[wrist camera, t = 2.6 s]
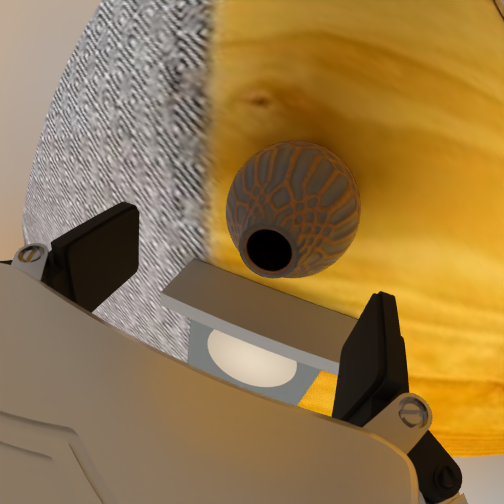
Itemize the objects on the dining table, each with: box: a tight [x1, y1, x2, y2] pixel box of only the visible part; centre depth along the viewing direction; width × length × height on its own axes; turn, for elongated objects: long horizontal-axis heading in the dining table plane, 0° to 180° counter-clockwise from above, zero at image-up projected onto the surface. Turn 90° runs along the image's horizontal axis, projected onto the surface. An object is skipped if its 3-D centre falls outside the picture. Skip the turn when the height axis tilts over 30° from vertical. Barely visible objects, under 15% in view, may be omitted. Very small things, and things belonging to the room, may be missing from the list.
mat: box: [188, 319, 321, 406], centre depth 27 cm, size 13×13×1 cm
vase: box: [226, 141, 361, 278], centre depth 15 cm, size 7×7×9 cm
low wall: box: [161, 259, 358, 375], centre depth 21 cm, size 1×14×5 cm, turn 78°
